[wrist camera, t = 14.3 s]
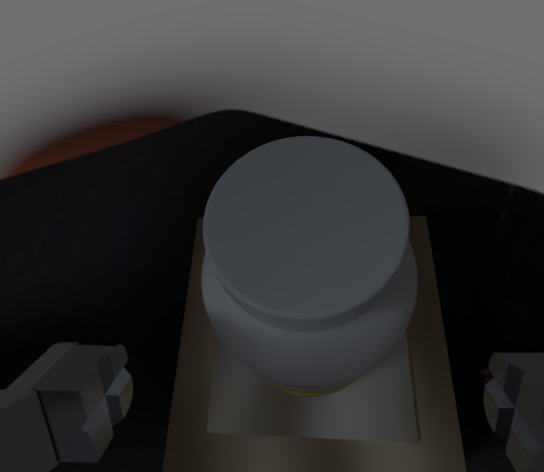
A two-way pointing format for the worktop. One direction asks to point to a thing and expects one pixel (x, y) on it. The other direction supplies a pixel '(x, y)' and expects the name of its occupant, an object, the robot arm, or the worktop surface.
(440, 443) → the plinth
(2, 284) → the worktop surface
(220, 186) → the supplement bottle
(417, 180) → the worktop surface
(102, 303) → the worktop surface
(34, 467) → the robot arm
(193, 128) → the worktop surface
